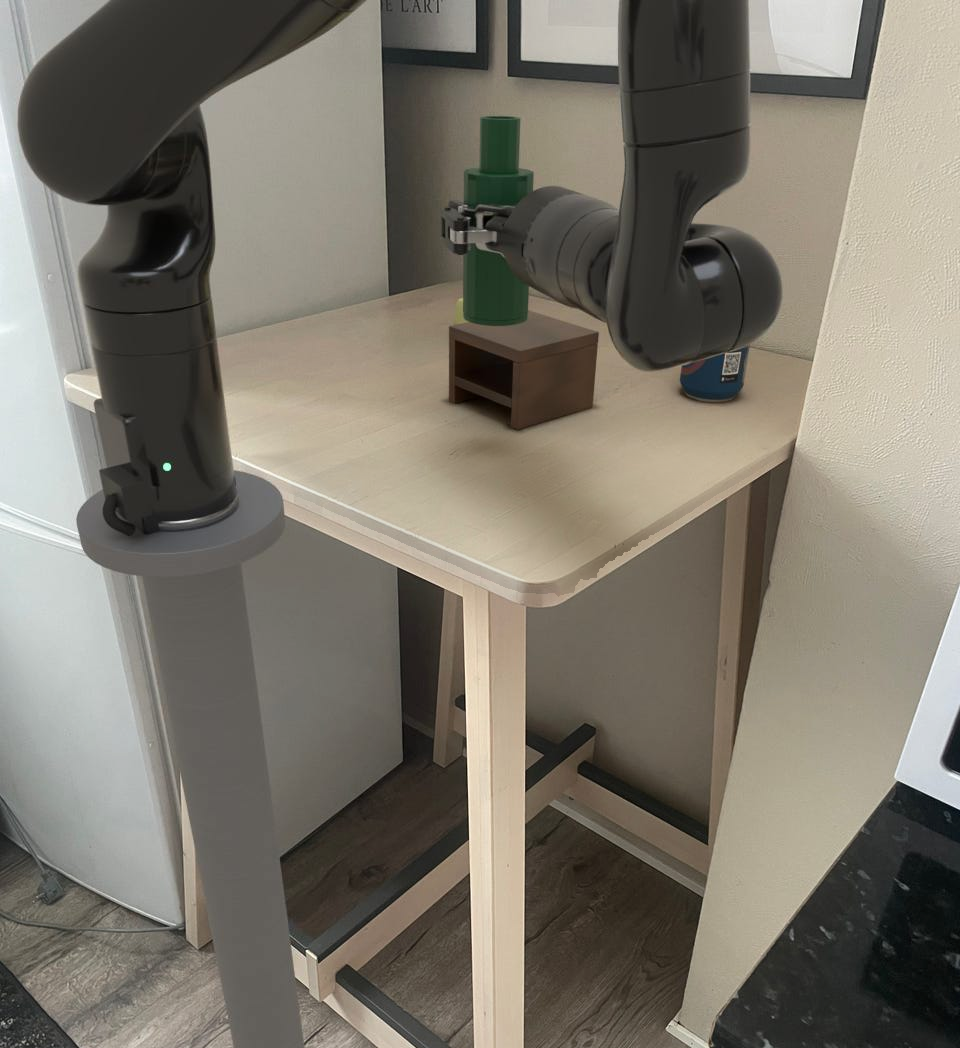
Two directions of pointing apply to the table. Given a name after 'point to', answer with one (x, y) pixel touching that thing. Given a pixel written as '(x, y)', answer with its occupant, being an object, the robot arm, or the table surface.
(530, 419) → the shelf
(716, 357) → the soda can
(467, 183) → the bottle
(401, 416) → the table surface
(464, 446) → the table surface
